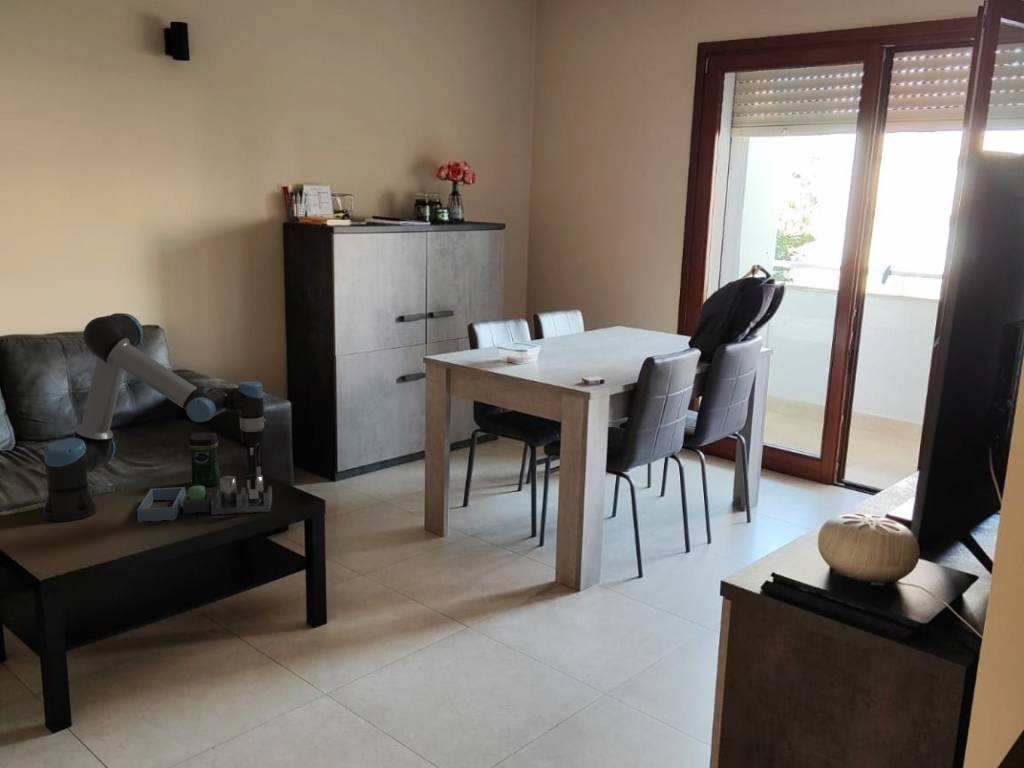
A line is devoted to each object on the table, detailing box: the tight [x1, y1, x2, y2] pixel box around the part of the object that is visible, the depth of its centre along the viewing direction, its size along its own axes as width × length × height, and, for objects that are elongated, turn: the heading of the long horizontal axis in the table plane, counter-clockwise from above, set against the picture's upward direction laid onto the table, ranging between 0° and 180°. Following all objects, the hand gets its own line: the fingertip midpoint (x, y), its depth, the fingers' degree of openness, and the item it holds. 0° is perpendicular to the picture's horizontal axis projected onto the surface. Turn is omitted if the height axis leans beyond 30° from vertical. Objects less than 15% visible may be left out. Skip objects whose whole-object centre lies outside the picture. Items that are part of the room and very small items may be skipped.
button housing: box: [182, 492, 213, 514], centre depth 287 cm, size 8×8×4 cm
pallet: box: [210, 485, 273, 516], centre depth 290 cm, size 18×14×4 cm
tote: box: [136, 486, 187, 523], centre depth 286 cm, size 11×22×4 cm, turn 12°
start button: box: [188, 485, 206, 500], centre depth 287 cm, size 5×5×6 cm
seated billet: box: [219, 475, 238, 504], centre depth 288 cm, size 5×5×8 cm
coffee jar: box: [188, 432, 221, 487], centre depth 312 cm, size 10×8×19 cm
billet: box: [246, 474, 265, 502], centre depth 290 cm, size 5×5×8 cm
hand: (255, 492), depth 290 cm, fingers open, 13 cm apart
